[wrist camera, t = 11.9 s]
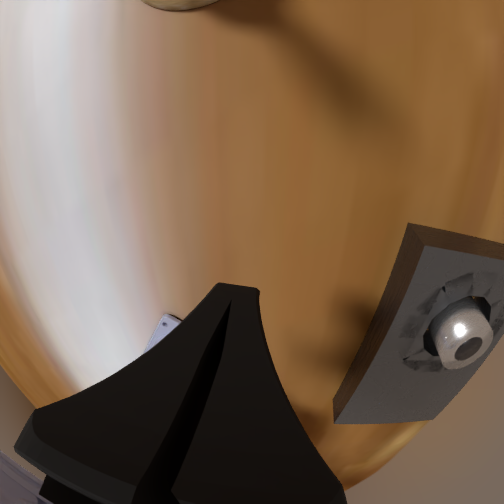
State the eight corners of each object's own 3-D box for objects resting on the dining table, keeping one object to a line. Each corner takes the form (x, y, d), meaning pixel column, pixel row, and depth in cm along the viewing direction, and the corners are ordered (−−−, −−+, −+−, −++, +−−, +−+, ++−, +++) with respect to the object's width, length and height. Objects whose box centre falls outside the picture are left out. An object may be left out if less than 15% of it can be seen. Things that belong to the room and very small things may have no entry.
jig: (427, 398, 26) (433, 419, 24) (332, 399, 27) (333, 423, 24) (521, 248, 16) (540, 268, 13) (407, 222, 17) (424, 245, 14)
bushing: (438, 331, 21) (456, 375, 17) (412, 310, 20) (431, 359, 16) (474, 297, 19) (500, 339, 15) (452, 272, 18) (481, 316, 14)
